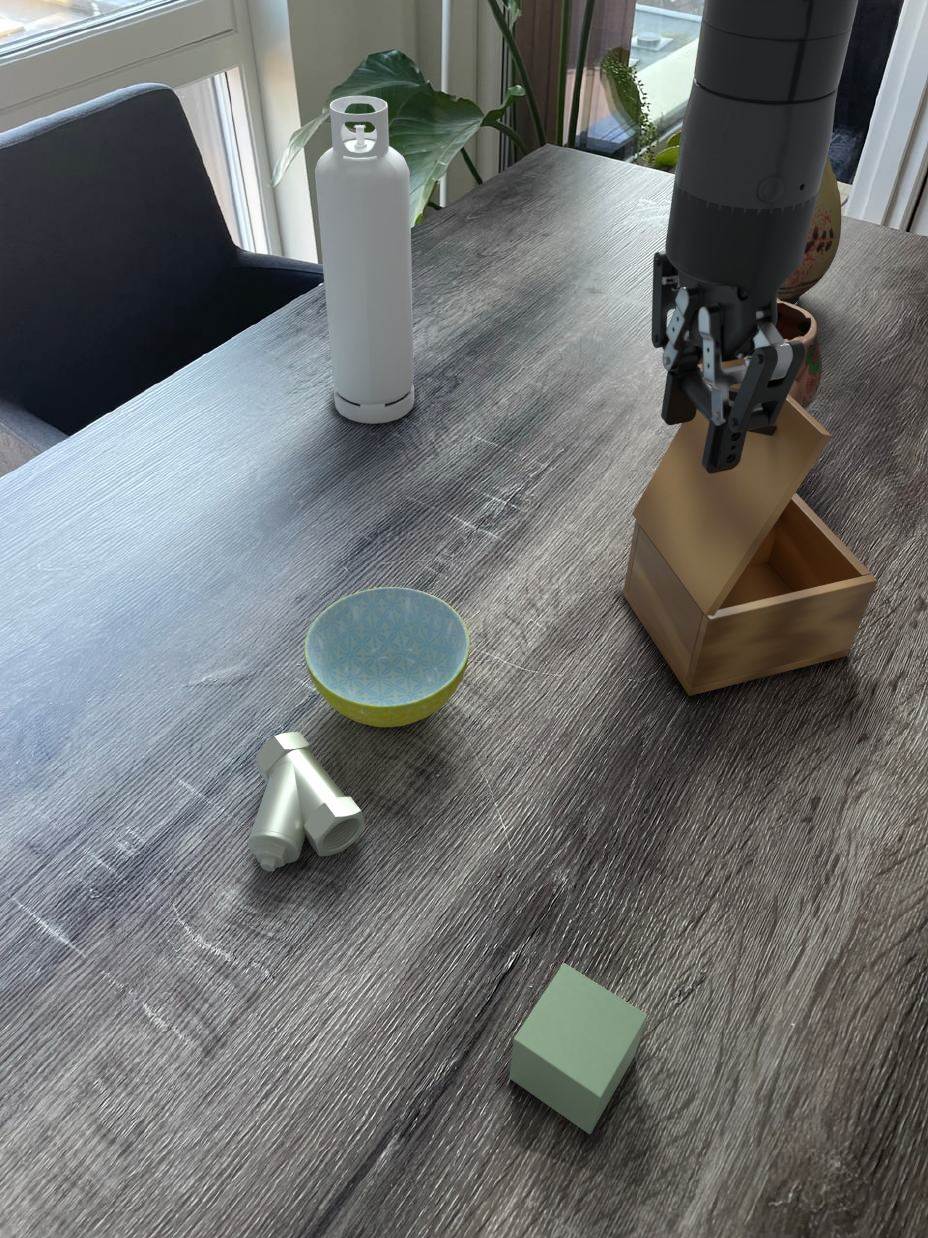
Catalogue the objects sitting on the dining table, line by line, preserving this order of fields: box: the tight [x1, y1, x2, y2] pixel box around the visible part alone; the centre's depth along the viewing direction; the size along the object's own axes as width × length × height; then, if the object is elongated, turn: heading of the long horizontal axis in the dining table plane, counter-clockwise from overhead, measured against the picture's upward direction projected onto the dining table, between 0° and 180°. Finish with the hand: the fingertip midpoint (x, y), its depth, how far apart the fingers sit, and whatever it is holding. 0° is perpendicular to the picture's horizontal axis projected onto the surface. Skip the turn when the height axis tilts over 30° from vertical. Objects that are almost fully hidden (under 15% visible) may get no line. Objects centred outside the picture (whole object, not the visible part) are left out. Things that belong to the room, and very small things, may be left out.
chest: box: [622, 491, 879, 697], centre depth 76 cm, size 14×12×8 cm
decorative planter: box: [698, 298, 823, 410], centre depth 92 cm, size 20×12×14 cm, turn 162°
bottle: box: [314, 95, 415, 425], centre depth 92 cm, size 8×8×28 cm
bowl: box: [303, 586, 471, 728], centre depth 70 cm, size 11×12×6 cm
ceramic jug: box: [777, 154, 842, 306], centre depth 107 cm, size 17×15×30 cm
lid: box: [631, 356, 833, 616], centre depth 66 cm, size 14×12×5 cm
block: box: [508, 962, 648, 1135], centre depth 52 cm, size 5×5×5 cm
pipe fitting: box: [247, 731, 366, 872], centre depth 64 cm, size 8×4×7 cm
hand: (697, 442), depth 64 cm, fingers closed on lid, 5 cm apart
